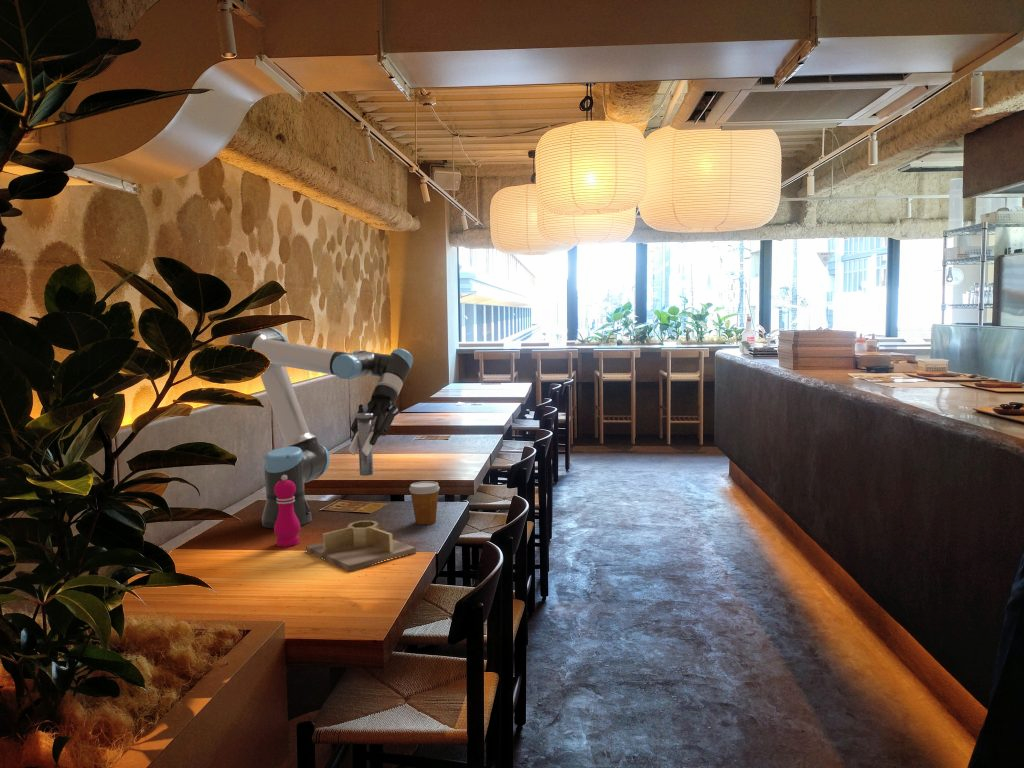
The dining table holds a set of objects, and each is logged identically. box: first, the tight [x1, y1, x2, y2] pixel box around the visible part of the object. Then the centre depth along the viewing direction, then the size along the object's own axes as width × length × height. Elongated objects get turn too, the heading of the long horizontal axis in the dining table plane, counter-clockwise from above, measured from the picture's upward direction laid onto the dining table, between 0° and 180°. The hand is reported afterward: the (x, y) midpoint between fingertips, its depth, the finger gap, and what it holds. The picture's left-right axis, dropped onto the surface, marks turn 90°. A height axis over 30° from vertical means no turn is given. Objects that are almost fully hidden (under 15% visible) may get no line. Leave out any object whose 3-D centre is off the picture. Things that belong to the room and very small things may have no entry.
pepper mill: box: [273, 475, 301, 548], centre depth 204 cm, size 7×7×20 cm
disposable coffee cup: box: [409, 481, 441, 526], centre depth 223 cm, size 10×10×12 cm
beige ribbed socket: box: [322, 520, 394, 553], centre depth 192 cm, size 18×16×5 cm
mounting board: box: [305, 539, 417, 572], centre depth 195 cm, size 24×20×2 cm
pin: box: [354, 412, 374, 477], centre depth 212 cm, size 5×5×18 cm
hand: (358, 452), depth 209 cm, fingers closed on pin, 4 cm apart
